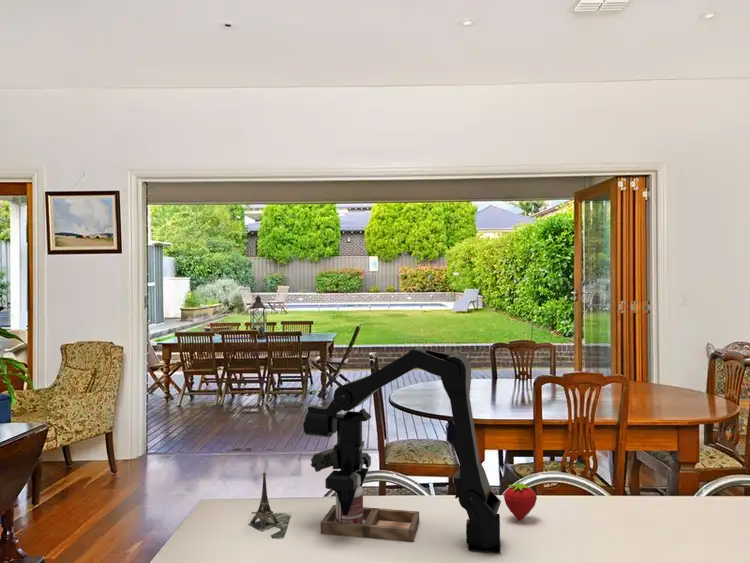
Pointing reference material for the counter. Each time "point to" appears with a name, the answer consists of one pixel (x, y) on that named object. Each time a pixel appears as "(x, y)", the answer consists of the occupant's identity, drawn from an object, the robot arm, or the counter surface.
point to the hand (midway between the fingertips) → (349, 508)
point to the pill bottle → (352, 507)
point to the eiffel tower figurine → (269, 516)
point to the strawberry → (520, 500)
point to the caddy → (389, 527)
